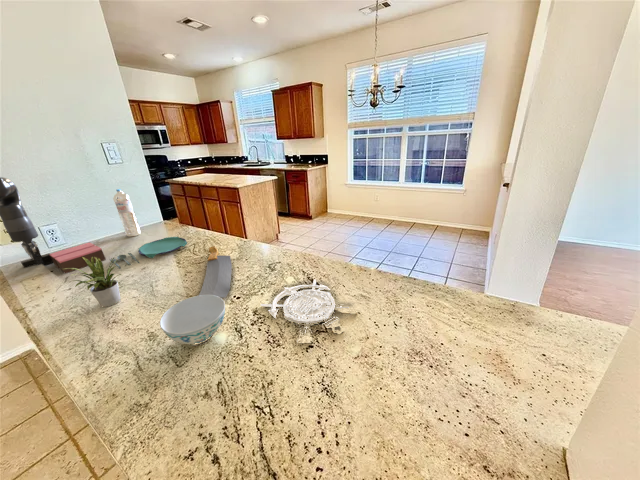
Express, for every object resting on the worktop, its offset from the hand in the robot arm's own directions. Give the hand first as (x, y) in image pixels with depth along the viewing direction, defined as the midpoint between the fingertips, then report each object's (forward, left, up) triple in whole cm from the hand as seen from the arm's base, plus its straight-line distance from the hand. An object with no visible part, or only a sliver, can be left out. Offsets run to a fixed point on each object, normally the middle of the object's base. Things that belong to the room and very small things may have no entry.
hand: (40, 265), depth 113 cm
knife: (+7, 0, 0) cm, 7 cm away
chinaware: (+11, -99, 0) cm, 100 cm away
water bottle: (+38, +4, 0) cm, 39 cm away
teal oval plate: (+31, -31, 0) cm, 44 cm away
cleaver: (+35, -74, 0) cm, 82 cm away
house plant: (+4, -58, 0) cm, 58 cm away
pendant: (+35, -117, 0) cm, 122 cm away
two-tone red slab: (+10, -12, 0) cm, 16 cm away
